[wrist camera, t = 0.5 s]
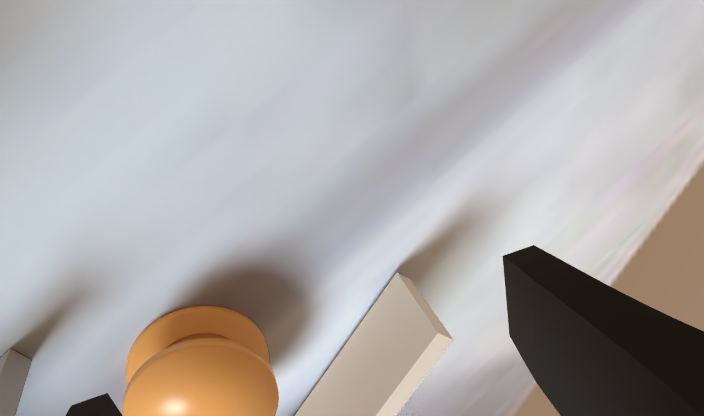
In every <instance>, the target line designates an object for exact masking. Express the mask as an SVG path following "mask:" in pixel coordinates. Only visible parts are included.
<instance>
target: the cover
mask: <svg viewBox="0 0 704 416" xmlns="http://www.w3.org/2000/svg"><path fill="white" fill-rule="evenodd" d="M452 342H453V338H452V337H451V336H450V334H449V333H448V331H447V330H446V329H445V327H444V326H443V324H442V323H441V321H440V320H439V319H438V317H437V316H436V314H435V313H434V312H433V310H432V309H431V307H430V306H429V304H428V303H427V302H426V300H425V299H424V297H423V296H422V295H421V293H420V292H419V290H418V289H417V287H416V286H415V285H414V283H413V282H412V280H411V279H409V278H407V277H405V276H403V275H401V274H399V273H396V274H395V275H394V277H393V278H392V280H391V281H390V282H389V284H388V285H387V287H386V288H385V289H384V291H383V292H382V294H381V295H380V296H379V298H378V299H377V301H376V302H375V303H374V305H373V306H372V308H371V309H370V310H369V312H368V313H367V315H366V316H365V318H364V319H363V320H362V322H361V323H360V325H359V326H358V327H357V329H356V330H355V332H354V333H353V334H352V336H351V337H350V339H349V340H348V341H347V343H346V344H345V346H344V347H343V348H342V350H341V351H340V353H339V354H338V355H337V357H336V358H335V360H334V361H333V362H332V364H331V365H330V367H329V368H328V369H327V371H326V372H325V374H324V375H323V376H322V378H321V379H320V381H319V382H318V383H317V385H316V386H315V388H314V389H313V390H312V392H311V393H310V395H309V396H308V397H307V399H306V400H305V402H304V403H303V404H302V406H301V407H300V409H299V410H298V412H297V413H296V414H295V416H396V415H397V414H398V412H399V411H400V410H401V408H402V407H403V406H404V405H405V403H406V402H407V401H408V399H409V398H410V397H411V395H412V394H413V393H414V391H415V390H416V389H417V387H418V386H419V385H420V384H421V382H422V381H423V380H424V378H425V377H426V376H427V374H428V373H429V372H430V370H431V369H432V368H433V366H434V365H435V364H436V363H437V361H438V360H439V359H440V357H441V356H442V355H443V353H444V352H445V351H446V349H447V348H448V347H449V345H450V344H451V343H452Z"/></svg>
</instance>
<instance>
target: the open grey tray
mask: <svg viewBox="0 0 704 416" xmlns="http://www.w3.org/2000/svg"><path fill="white" fill-rule="evenodd" d="M31 361H32V360H30V359H29V358H27V357H25V356H23V355H21V354H19V353H18V352H16V351H14V350H12V349H9V350H8V351H7V352H6V353H5V354H4V355H3V356H2V357H0V416H15V414H16V411H17V408H18V405H19V401H20V398H21V395H22V391H23V388H24V385H25V381H26V378H27V375H28V371H29V368H30V365H31Z"/></svg>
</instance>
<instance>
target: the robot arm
mask: <svg viewBox="0 0 704 416" xmlns="http://www.w3.org/2000/svg"><path fill="white" fill-rule="evenodd" d="M503 264H504V276H505V287H506V299H507V310H508V322H509V334H510V337H511V339H512V341H513V342H514V344H515V346H516V348H517V349H518V351H519V353H520V355H521V357H522V358H523V360H524V362H525V364H526V365H527V367H528V369H529V370H530V372H531V374H532V376H533V377H534V379H535V381H536V382H537V384H538V385H539V387H540V388H541V389H542V391H543V392H544V393H545V395H546V396H547V397H548V399H549V400H550V402H551V403H552V404H553V406H554V407H555V408H556V410H557V411H558V412H559V414H560V415H561V416H704V332H703V331H701V330H699V329H697V328H694V327H692V326H690V325H688V324H686V323H683V322H681V321H679V320H677V319H674V318H672V317H670V316H668V315H666V314H664V313H662V312H660V311H658V310H655V309H653V308H651V307H649V306H647V305H645V304H643V303H641V302H639V301H637V300H635V299H633V298H631V297H629V296H627V295H625V294H623V293H621V292H619V291H617V290H616V289H613V288H612V287H610V286H608V285H606V284H604V283H602V282H600V281H599V280H597V279H595V278H593V277H591V276H589V275H588V274H586V273H584V272H582V271H580V270H578V269H576V268H575V267H573V266H571V265H569V264H567V263H566V262H564V261H562V260H560V259H558V258H556V257H555V256H553V255H551V254H549V253H547V252H545V251H544V250H542V249H540V248H538V247H536V246H534V245H533V246H530V247H527V248H524V249H522V250H519V251H516V252H513V253H510V254H507V255H504V256H503ZM66 416H122V414H121V413H120V411H119V410H118V408H117V407H116V405H115V404H114V402H113V401H112V399H111V398H110V396H109V395H108V393H106V394H104V395H101V396H98V397H95V398H92V399H89V400H86V401H83V402H81V403H78V404H75V405H72V406H71V407H70V409H69V411H68V413H67V414H66Z"/></svg>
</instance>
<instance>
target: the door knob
mask: <svg viewBox="0 0 704 416" xmlns="http://www.w3.org/2000/svg"><path fill="white" fill-rule="evenodd" d="M269 362H270V361H269V352H268V347H267V343H266V340H265V338H264V335H263V334H262V332H261V330H260V329H259V328H258V327H257V325H256V324H255V323H254V322H252V321H251V320H250V319H249V318H247V317H246V316H244V315H243V314H241V313H238V312H236V311H234V310H231V309H228V308H223V307H218V306H194V307H187V308H183V309H180V310H177V311H174V312H171V313H169V314H167V315H165V316H163V317H161V318H159V319H158V320H156V321H154V322H153V323H152V324H150V325H149V326H148V327H147V328H146V329H145V330H144V331H143V332H142V333H141V334H140V335H139V336H138V338H137V339H136V340H135V342H134V344H133V346H132V347H131V349H130V352H129V355H128V359H127V366H126V381H127V389H126V392H125V396H124V402H123V416H275V414H276V411H277V407H278V400H279V396H278V388H277V384H276V380H275V376H274V373H273V370H272V368H271V366H270V365H269Z"/></svg>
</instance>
